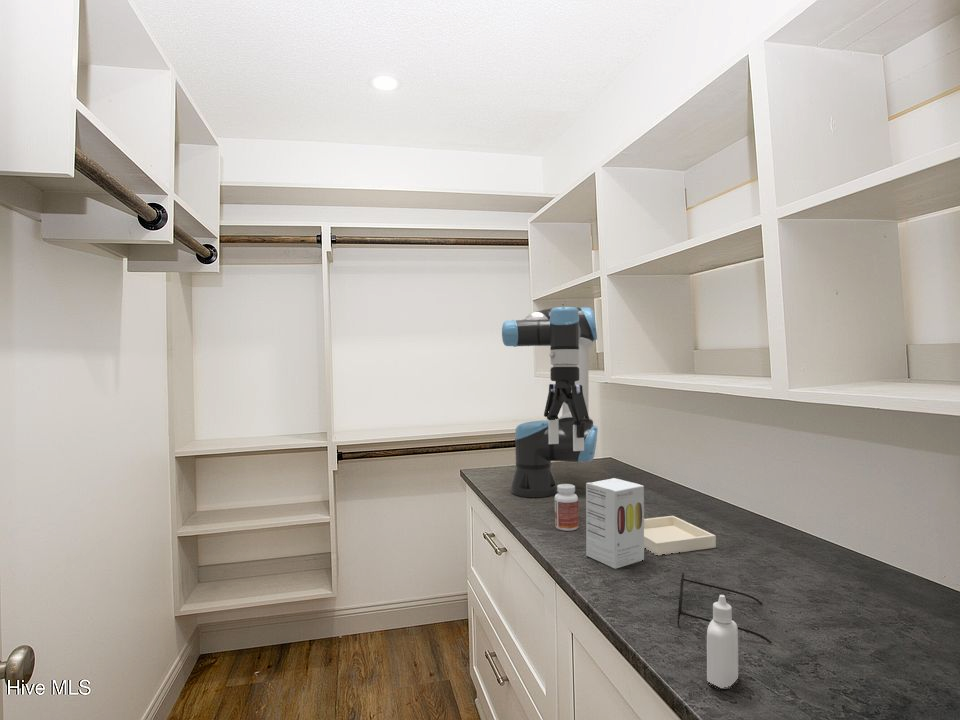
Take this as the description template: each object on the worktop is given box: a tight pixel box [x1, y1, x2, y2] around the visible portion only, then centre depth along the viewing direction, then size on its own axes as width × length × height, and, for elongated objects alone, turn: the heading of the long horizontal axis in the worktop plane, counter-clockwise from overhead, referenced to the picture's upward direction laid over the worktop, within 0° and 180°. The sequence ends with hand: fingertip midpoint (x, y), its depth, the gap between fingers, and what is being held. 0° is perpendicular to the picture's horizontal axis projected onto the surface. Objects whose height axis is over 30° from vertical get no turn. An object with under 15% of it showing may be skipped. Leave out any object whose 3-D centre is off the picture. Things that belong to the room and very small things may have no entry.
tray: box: [644, 515, 717, 556], centre depth 130 cm, size 16×16×3 cm
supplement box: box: [585, 477, 645, 570], centre depth 119 cm, size 10×9×17 cm
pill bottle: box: [553, 483, 579, 532], centre depth 140 cm, size 6×6×11 cm
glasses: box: [677, 572, 773, 644], centre depth 93 cm, size 14×15×5 cm
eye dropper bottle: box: [706, 594, 739, 688], centre depth 75 cm, size 4×6×12 cm
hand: (565, 447), depth 139 cm, fingers open, 13 cm apart
